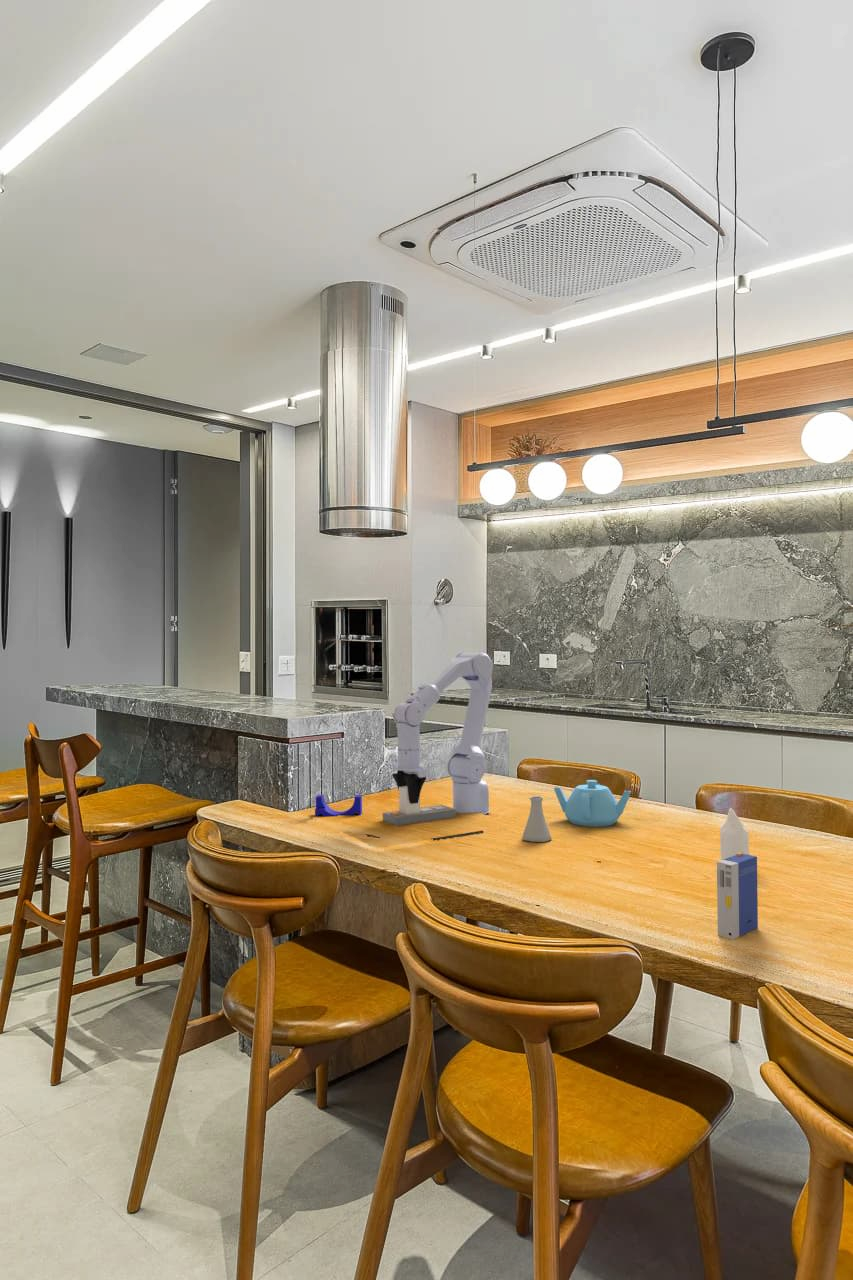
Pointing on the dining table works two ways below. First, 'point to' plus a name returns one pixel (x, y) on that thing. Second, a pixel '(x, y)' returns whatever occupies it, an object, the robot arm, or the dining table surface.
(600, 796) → the teapot
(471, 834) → the rubber mat
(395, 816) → the power strip
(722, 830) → the glue bottle
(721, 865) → the walkman
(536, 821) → the flask
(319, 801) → the blue arch block
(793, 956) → the dining table surface
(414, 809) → the plug
